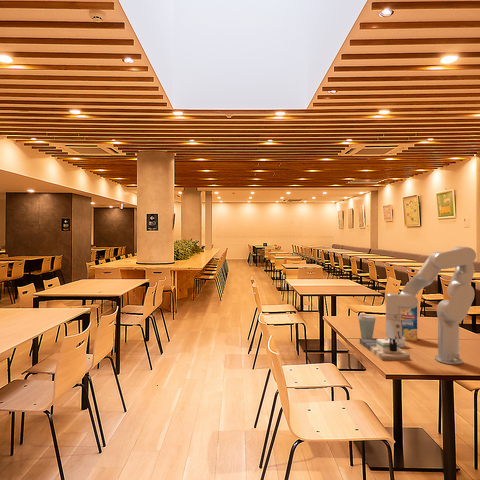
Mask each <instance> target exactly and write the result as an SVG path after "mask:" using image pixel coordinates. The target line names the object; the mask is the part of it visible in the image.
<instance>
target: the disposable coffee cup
mask: <svg viewBox="0 0 480 480" xmlns="http://www.w3.org/2000/svg"><path fill="white" fill-rule="evenodd" d="M357 317H358V318H357V319H358V323H359V324H358V325H359V330H360V337H361V339H373V338H374V337H373V336H374V332H375V331H374V329H375V326H376V325H375V324H376V317H375V316H374V315H370V314H363V313H362V314H359V315H358V316H357Z"/></svg>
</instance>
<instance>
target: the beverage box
mask: <svg viewBox="0 0 480 480" xmlns="http://www.w3.org/2000/svg"><path fill="white" fill-rule="evenodd" d="M400 321H401V325H402V337H405V341H416V342H417V341H418V305H417V306H416V307H415V308H413V309H407V308H401V320H400Z"/></svg>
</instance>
